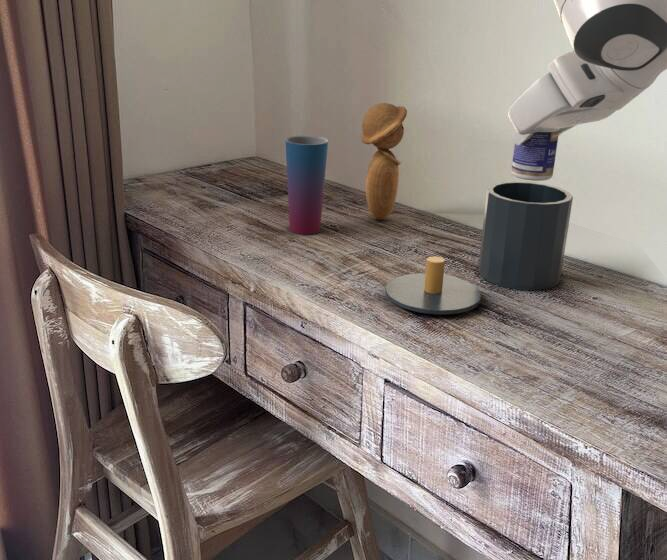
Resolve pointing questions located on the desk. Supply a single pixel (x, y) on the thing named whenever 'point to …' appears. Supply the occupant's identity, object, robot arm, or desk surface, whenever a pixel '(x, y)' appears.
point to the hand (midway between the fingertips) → (532, 137)
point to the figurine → (383, 156)
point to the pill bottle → (536, 156)
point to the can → (524, 235)
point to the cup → (305, 182)
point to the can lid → (433, 291)
